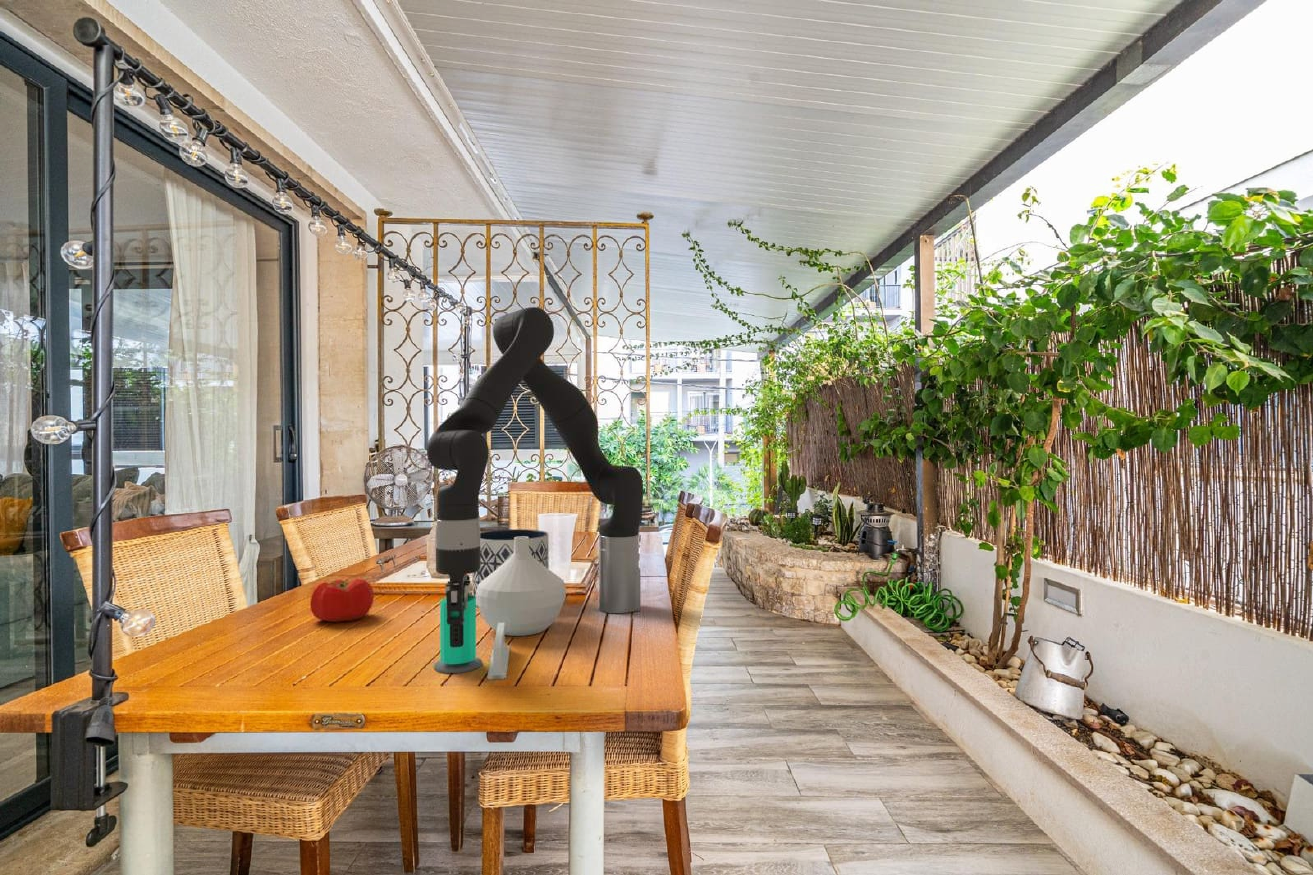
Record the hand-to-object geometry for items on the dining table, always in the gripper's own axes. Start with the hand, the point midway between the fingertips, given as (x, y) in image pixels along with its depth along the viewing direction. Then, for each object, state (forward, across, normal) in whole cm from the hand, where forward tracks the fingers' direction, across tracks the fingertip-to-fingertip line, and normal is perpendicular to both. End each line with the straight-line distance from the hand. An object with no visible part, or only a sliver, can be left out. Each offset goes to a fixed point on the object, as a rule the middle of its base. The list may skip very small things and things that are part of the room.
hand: (458, 640), depth 118 cm
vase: (+5, +21, -10) cm, 24 cm away
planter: (+5, +46, -7) cm, 47 cm away
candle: (+3, 0, 0) cm, 3 cm away
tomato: (+5, +37, +29) cm, 47 cm away
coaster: (+4, 0, 0) cm, 4 cm away
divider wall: (+4, 0, -7) cm, 8 cm away
